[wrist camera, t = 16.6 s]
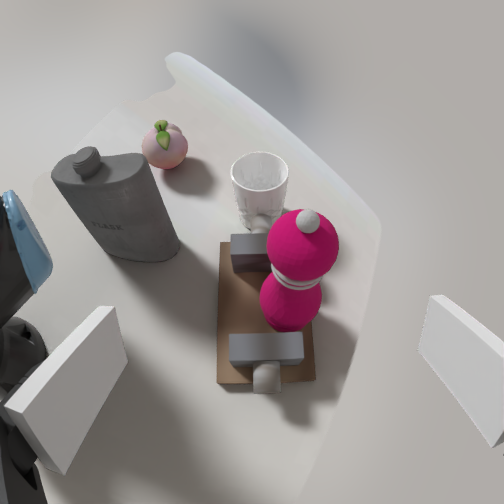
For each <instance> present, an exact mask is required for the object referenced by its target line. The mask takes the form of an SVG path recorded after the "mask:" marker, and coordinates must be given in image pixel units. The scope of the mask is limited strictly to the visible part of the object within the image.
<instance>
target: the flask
mask: <svg viewBox="0 0 504 504" xmlns="http://www.w3.org/2000/svg"><path fill="white" fill-rule="evenodd" d="M51 178H52V180H53V182H54V183H55V185H56V186H57V188H58V189H59V191H60V192H61V194H62V195H63V196H64V198H65V199H66V201H67V202H68V204H69V205H70V206H71V208H72V209H73V211H74V212H75V213H76V215H77V216H78V217H79V219H80V220H81V221H82V223H83V224H84V225H85V227H86V228H87V229H88V231H89V232H90V233H91V235H92V236H93V237H94V239H95V240H96V241H97V242H98V244H99V245H100V246H101V248H102V249H103V250H104V251H106V252H107V253H109V254H111V255H114V256H117V257H120V258H123V259H127V260H133V261H141V262H160V261H164V260H167V259H170V258H172V257H173V256H174V255H175V254H176V253H177V251H178V249H179V244H180V243H179V240H178V237H177V235H176V232H175V230H174V227H173V225H172V223H171V220H170V218H169V215H168V213H167V210H166V208H165V205H164V203H163V200H162V198H161V195H160V193H159V190H158V187H157V185H156V182H155V180H154V177H153V174H152V172H151V169H150V166H149V164H148V161H147V158H146V157H145V156H144V155H143V154H139V153H129V154H121V155H115V156H102V157H100V154H99V152H98V150H97V149H96V148H95V147H85V148H82V149H81V150H79V151H78V152H77V153H76V154H72V155H69V156H67V157H65V158H63V159H62V160H61V161H59V162H58V164H57V165H56V166H55V167H54V169H53V171H52V173H51Z"/></svg>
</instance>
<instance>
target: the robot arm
mask: <svg viewBox="0 0 504 504" xmlns="http://www.w3.org/2000/svg"><path fill="white" fill-rule="evenodd" d="M52 268H53V263H52V259H51V256H50V254H49V252H48V249H47V247H46V245H45V244H44V242H43V240H42V238H41V236H40V234H39V232H38V230H37V229H36V227H35V225H34V223H33V221H32V219H31V218H30V216H29V214H28V212H27V211H26V209H25V207H24V205H23V204H22V202H21V201H20V199H19V198H18V196H17V195H16V194H15V192H14V191H13V190H9V191H7V192H4V193H3V195H2V197H1V196H0V400H1V402H0V504H48V503H47V500H46V497H45V493H44V490H43V486H42V483H41V479H40V475H39V471H38V469H37V467H36V465H35V464H34V462H35V461H36V459H37V458H39V460H40V461H41V462H42V463H43V465H44V466H45V467H46V468H47V469H49V470H51V471H54V472H56V473H59V474H62V475H64V476H65V474H66V472H67V470H68V468H69V466H70V464H71V463H72V461H73V459H74V457H75V455H76V453H77V451H78V449H79V447H80V446H81V444H82V442H83V440H84V438H85V436H86V434H87V433H88V431H89V429H90V427H91V425H92V424H93V422H94V420H95V418H96V416H97V415H98V413H99V411H100V409H101V408H102V406H103V404H104V402H105V400H106V399H107V397H108V395H109V394H110V392H111V390H112V388H113V387H114V385H115V383H116V382H117V380H118V378H119V376H120V375H121V373H122V371H123V370H124V368H125V366H126V365H127V363H128V359H127V356H126V352H125V348H124V344H123V340H122V336H121V332H120V328H119V324H118V319H117V315H116V310H115V306H98V307H97V308H96V309H95V310H94V311H93V312H92V313H91V314H90V315H89V316H88V317H87V318H86V319H85V320H84V321H83V322H82V323H81V324H80V325H79V326H78V327H77V328H76V329H75V330H74V331H73V332H72V333H71V334H70V335H69V336H68V337H67V338H66V339H65V340H64V341H63V342H62V343H61V344H60V345H59V346H58V347H57V348H56V349H55V350H54V351H53V352H52V353H51V354H50V355H49V357H48V358H47V359H46V352H45V347H44V343H43V340H42V338H41V336H40V334H39V332H38V331H37V330H36V328H35V327H34V326H33V325H31V324H30V323H28V322H26V321H25V320H23V319H21V318H18V317H12V316H13V315H14V314H15V313H16V312H17V311H18V310H19V309H20V308H21V307H22V306H23V305H24V304H25V303H26V301H27V300H28V299H29V298H30V297H31V296H32V295H33V294H34V293H35V294H36V293H37V291H38V288H39V287H40V286H41V285H42V284H43V283H44V282H45V281H46V279H47V278H48V277H49V276H50V274H51V272H52ZM418 351H419V353H420V354H421V355H422V356H423V358H424V359H425V360H426V361H427V363H428V364H429V365H430V366H431V368H432V369H433V370H434V371H435V373H436V374H437V375H438V376H439V378H440V379H441V380H442V381H443V383H444V384H445V385H446V386H447V388H448V389H449V391H450V392H451V393H452V394H453V396H454V397H455V398H456V400H457V401H458V402H459V404H460V405H461V406H462V408H463V409H464V410H465V412H466V413H467V414H468V416H469V417H470V419H471V420H472V421H473V423H474V424H475V425H476V427H477V428H478V430H479V431H480V432H481V434H482V435H483V437H484V438H485V440H486V441H487V442H488V444H489V445H490V447H491V448H494V447H495V446H497V445H499V444H501V443H503V442H504V342H503V341H502V340H501V339H499V338H498V337H497V336H496V335H494V334H493V333H492V332H491V331H489V330H488V329H487V328H486V327H485V326H483V325H482V324H481V323H480V322H478V321H477V320H476V319H475V318H473V317H472V316H471V315H469V314H468V313H467V312H465V311H464V310H463V309H462V308H460V307H459V306H458V305H456V304H455V303H454V302H452V301H451V300H450V299H448V298H447V297H446V296H444V295H436V296H430V298H429V303H428V309H427V313H426V318H425V322H424V326H423V331H422V335H421V339H420V343H419V347H418Z"/></svg>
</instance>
